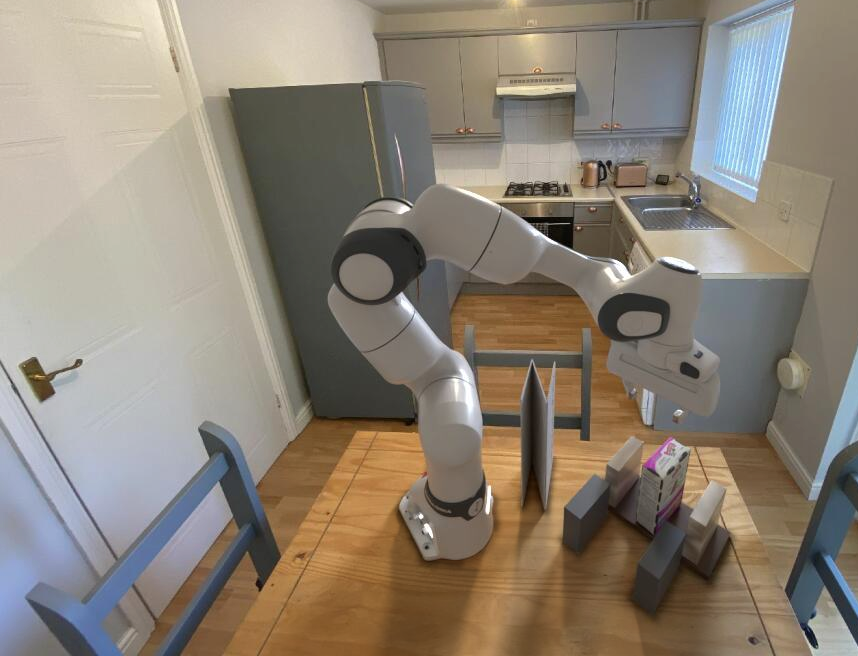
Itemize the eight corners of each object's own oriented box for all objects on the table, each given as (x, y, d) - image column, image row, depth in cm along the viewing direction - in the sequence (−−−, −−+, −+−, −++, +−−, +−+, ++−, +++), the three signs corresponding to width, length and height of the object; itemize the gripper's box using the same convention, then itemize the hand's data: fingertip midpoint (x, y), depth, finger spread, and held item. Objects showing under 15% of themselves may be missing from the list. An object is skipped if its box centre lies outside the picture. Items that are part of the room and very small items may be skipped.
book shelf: (592, 498, 96) (595, 458, 91) (619, 467, 104) (623, 429, 99) (708, 581, 79) (719, 537, 75) (729, 536, 87) (741, 494, 83)
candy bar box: (661, 490, 96) (670, 435, 90) (681, 504, 93) (692, 448, 87) (633, 520, 90) (641, 463, 83) (654, 537, 86) (664, 479, 80)
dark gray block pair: (562, 540, 87) (563, 506, 83) (592, 505, 94) (594, 473, 91) (652, 615, 74) (659, 579, 70) (678, 568, 82) (686, 533, 78)
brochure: (545, 510, 94) (547, 403, 82) (521, 506, 95) (520, 399, 83) (552, 460, 106) (555, 361, 95) (531, 457, 107) (531, 359, 96)
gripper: (603, 332, 78) (597, 392, 84) (716, 379, 65) (701, 446, 71) (620, 320, 82) (613, 378, 88) (730, 362, 70) (714, 427, 75)
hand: (653, 409), depth 79 cm, fingers open, 8 cm apart
